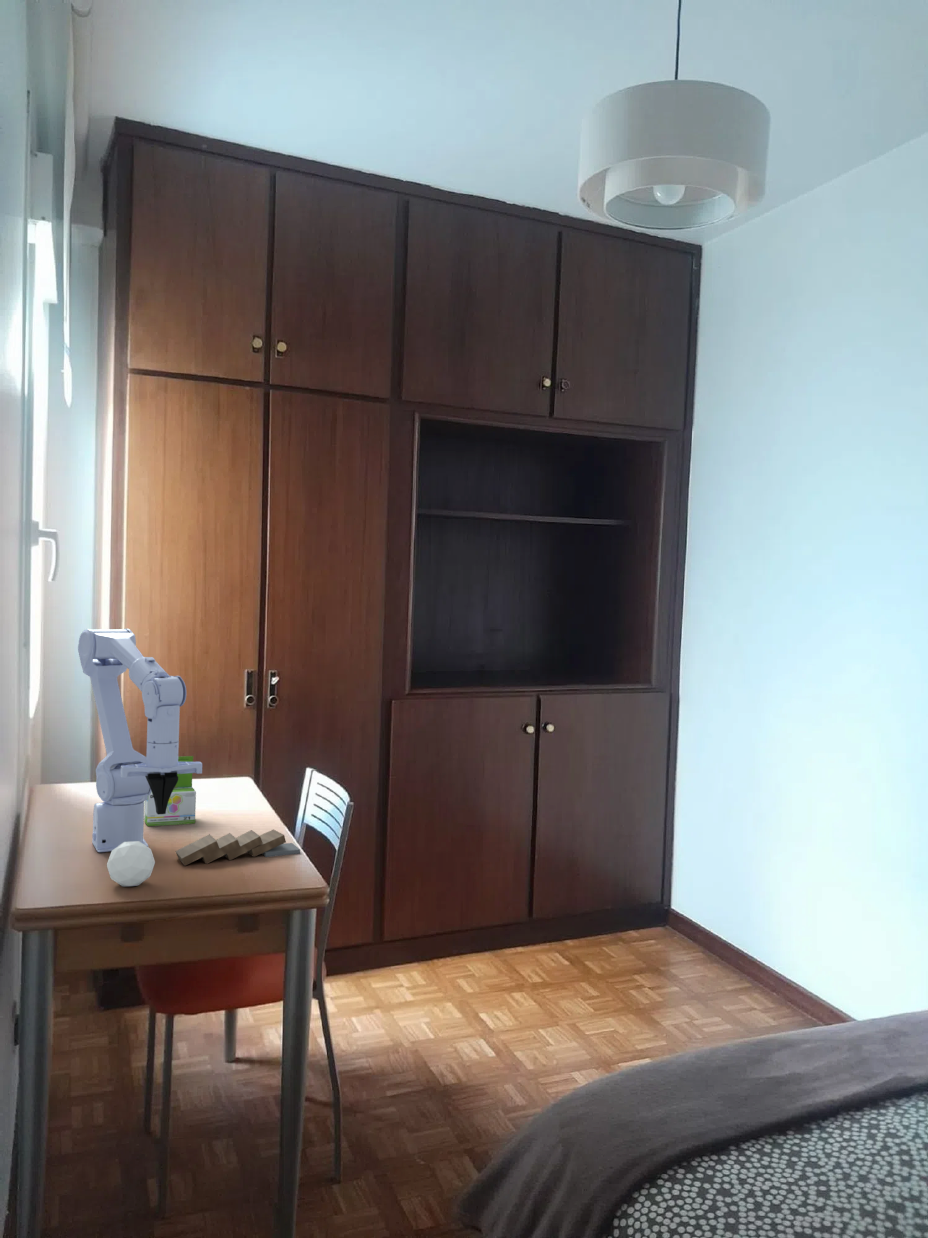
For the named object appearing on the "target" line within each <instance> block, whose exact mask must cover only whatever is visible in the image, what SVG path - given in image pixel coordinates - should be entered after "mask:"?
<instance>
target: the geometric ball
mask: <svg viewBox="0 0 928 1238" xmlns="http://www.w3.org/2000/svg"><path fill="white" fill-rule="evenodd" d="M155 864H156V861H155V858H154V854H153V852H152V848H150V847H149V846H148V847H147V846H146V845H144V844H143V843H141V842H140V841H131V842H123V843H122V844H120V845H119V846H118V847H116V848H115V849H114V850H112V851H110V854H109V857H108V860H107V863H106V868H107V871H108V873H109V877H110V879H111V880H112V881H114V882H115V883H117V884H118V885H120V886H121V887H123V888H124V887H138V886H140V885H141V884H143V882H145V881H146V880H148V879H149V878H150V877H151V875H152V873H153V870H154V867H155Z"/></svg>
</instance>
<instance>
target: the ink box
mask: <svg viewBox="0 0 928 1238" xmlns="http://www.w3.org/2000/svg"><path fill="white" fill-rule="evenodd" d="M178 762H194V755H186V756H185V755H184V756H182V755H181V756H178ZM177 776H178V782H177V784H176V786H175V787H174V789H173V791H172V793H171V796H170V798H169V801H168V805H167V808H166V814H157V813H156V806H155V801H154V797H153V794H152V793H151V794H150V795H149V796H148V800H145V801H144V824H146V826H147V827H159V826H160V827H161V826H174V825H175V826H176V825H188V824H189V825H192V824H196V808H197V807H196V803H197V801H196V800H197V798H196V797H197V791H196V790H195V788H193V773H185V774H177Z"/></svg>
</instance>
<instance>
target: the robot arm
mask: <svg viewBox="0 0 928 1238" xmlns="http://www.w3.org/2000/svg"><path fill="white" fill-rule="evenodd" d="M77 651H78V655H79V656H78V657H79V661H80V666H81V669H82V672H83V674H84V675H86V676H88V677H89V679H90V684H91V688H92V692H93V696H94V697H93V698H94V702H95V706H96V710H97V716H98V720H99V724H100V730H101V733H102V739H103V743H104V747H105V748H104V749H105V752H106V753H105V754H106V756H105V757H104V758H102V759H101V761H99V762H98V764H97V766H96V767H95V776H96V781H95V787H96V788H95V789H96V793H97V796H98V797H99V799H100V800H101V801H103V802H97V803H94V804H93V813H92V814H93V815H92V816H93V817H92V841H91V842H92V845H93V847H94V848H95V851H97V852H98V853H105V852H112V850H114V849H115V848H116V847H118V846H119V845H120V844H122V843H123V842H131V841H140V842H141V843H143V844H144V845H146V846H147V847H149V844H148V843H147V841H146V840H145V838H144V830H145V829H144V825H145V821H144V806H145V800H148V796H149V795H150V794H151V793H152V794H153V797H154V801H155V806H156V813H157V814H166V808H167V805H168V801H169V798H170V796H171V793H172V791H173V789H174V787H175V786H176V784H177V782H178V776H177V774H185V773H192V774H203V762H201V761H193V762H178V757H179V744H180V741H179V740H180V739H179V738H180V716H181V715H180V711H181V707H182V706H184V704H185V702H186V700H187V686H186V683H185V681H184V679H183V678H182V676H181V675H170V674H169V673H168V672H167V671H165V669H164V668H163V667H162V666H161V665H160V664H159V663H158V661H156V659H155V658H154V657H153V656H144V655H143V654H142V653H141V651H140V650H139V649H138V647H137V639H136V634H135V633H133V631H132V629H129V628H121V629H119V628H118V629H116V628H115V629H91V628H86V629H85V628H84V630H83V631H82V633H81V634H80V635H79V640H78V645H77ZM127 670H128V677H129V679H130V680H131V682H132V683H133V684H134V685H135V686H136V687H137V688H138V689H139V691H140V692H141V698H142V702H143V706H144V715H145V717H146V718H147V721H146V722H147V723H146V724H147V725H146V726H147V727H146V728H147V729H146V731H147V732H146V753H145V754H146V755H143V754H142V753H141V752H139V751H137V750H135V749H134V747H133V743H132V740H131V734H130V729H129V726H128V721H127V717H126V716H127V715H126V713H125V708H124V703H123V698H122V696H121V691H120V686H119V682H118V677H119V676H120V675H122V674H124V673H126V671H127Z"/></svg>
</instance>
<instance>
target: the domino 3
mask: <svg viewBox="0 0 928 1238" xmlns="http://www.w3.org/2000/svg"><path fill="white" fill-rule="evenodd" d="M235 838H236V839H238V842H239V845H240V847H239V848H237V849H235V850H233V851H231V852H229V853H227V854H225V855H223V856H224V857H225V858H226V859H227V860H228V861H232V860H234V859H235V858H238V857H239V856H241V855H243V854H246V853H247V851H249V850H251V849H253V848H255V847H257V846H259V845H261V844H263V842H262V840H261V837H260V834H258V833H257V832H255V831H254V830H252V829H250V830H248V831H247V832H245V833H242V834H240V835H239V836H237V837H235Z"/></svg>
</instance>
